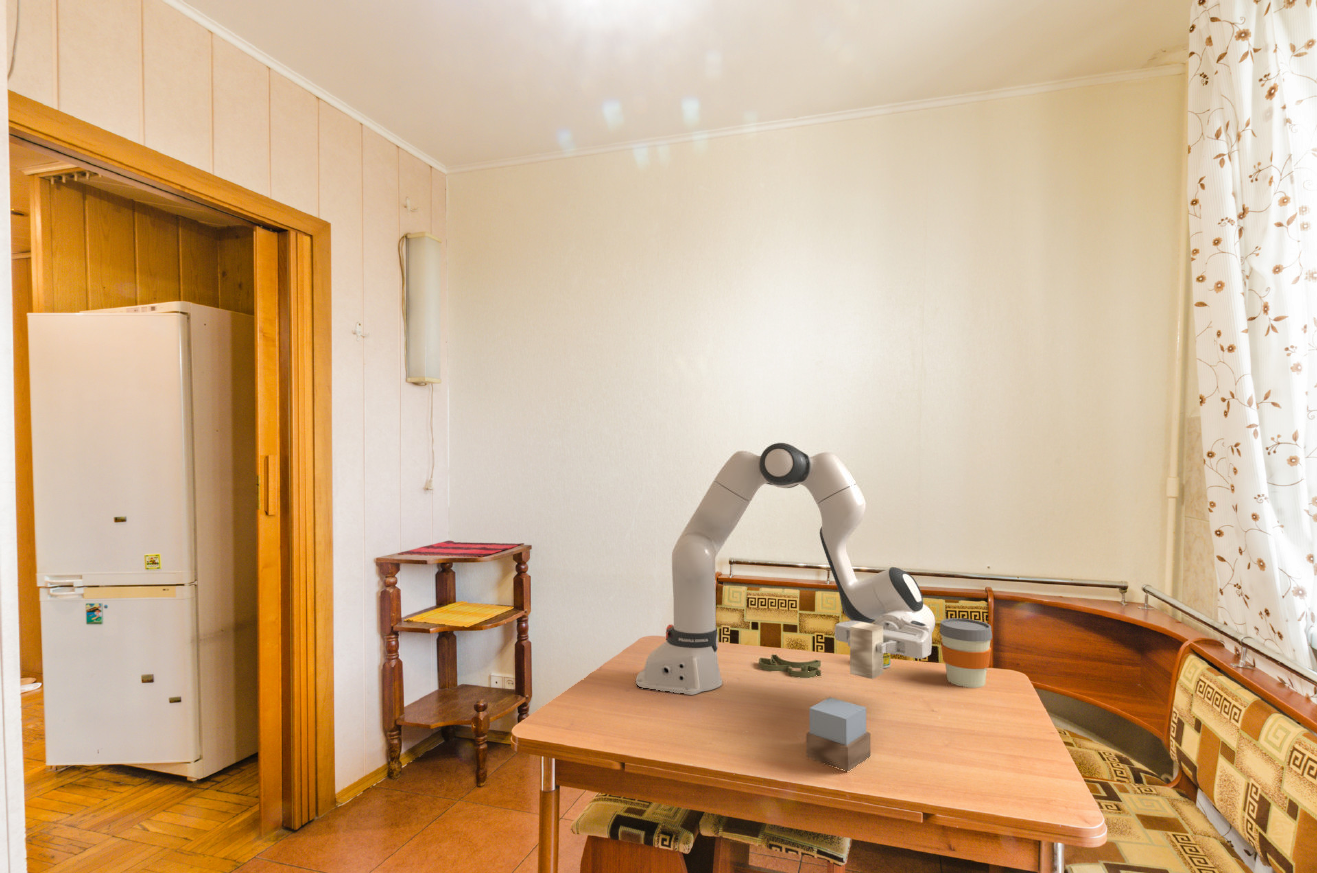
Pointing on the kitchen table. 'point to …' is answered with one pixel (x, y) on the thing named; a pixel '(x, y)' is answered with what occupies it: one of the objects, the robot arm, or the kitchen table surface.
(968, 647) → the reusable coffee cup
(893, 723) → the kitchen table surface
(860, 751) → the walnut base block
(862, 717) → the slate-blue top block
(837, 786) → the kitchen table surface
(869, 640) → the cream pillar block
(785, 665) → the cookie cutter
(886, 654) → the supplement bottle
